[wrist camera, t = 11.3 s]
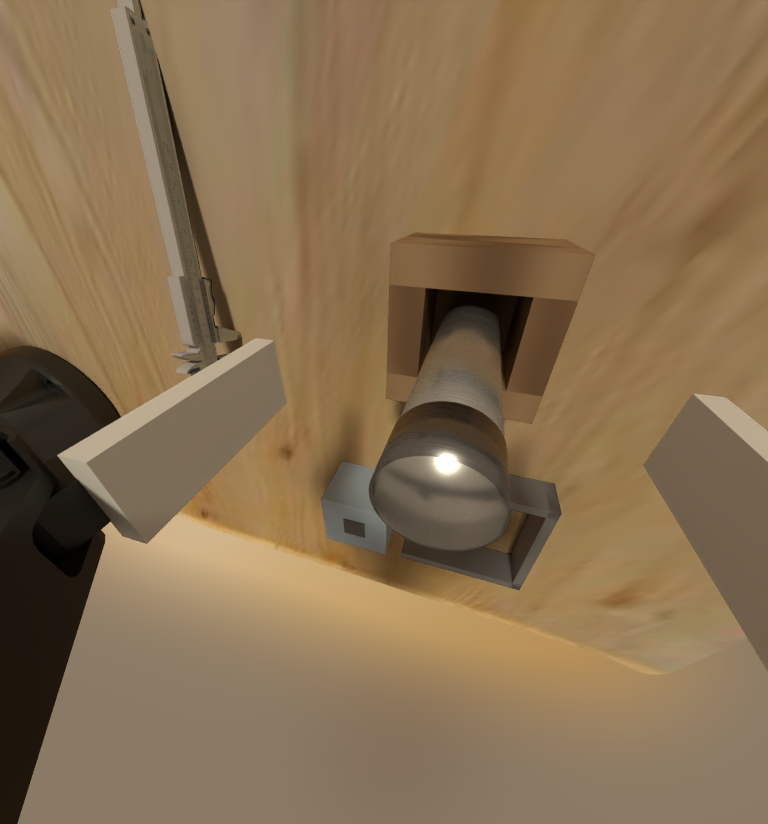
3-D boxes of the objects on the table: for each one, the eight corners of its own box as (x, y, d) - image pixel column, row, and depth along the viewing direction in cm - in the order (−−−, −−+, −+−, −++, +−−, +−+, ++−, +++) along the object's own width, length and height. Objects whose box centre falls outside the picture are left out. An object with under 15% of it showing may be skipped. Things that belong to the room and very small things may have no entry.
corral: (407, 532, 34) (401, 556, 32) (414, 455, 27) (407, 479, 25) (517, 560, 31) (519, 590, 29) (554, 483, 25) (561, 513, 22)
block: (346, 499, 34) (326, 539, 30) (342, 460, 31) (320, 499, 27) (398, 512, 33) (385, 555, 29) (400, 473, 29) (386, 516, 25)
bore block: (408, 357, 22) (386, 398, 18) (417, 232, 18) (390, 242, 13) (522, 373, 21) (531, 423, 16) (564, 239, 16) (595, 254, 11)
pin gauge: (443, 334, 20) (369, 530, 8) (450, 284, 18) (367, 440, 6) (492, 340, 19) (492, 564, 7) (505, 288, 17) (529, 473, 5)
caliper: (250, 356, 27) (195, 391, 22) (239, 355, 27) (183, 390, 22) (139, -19, 15) (-29, -124, 10) (122, -14, 16) (-49, -114, 11)
